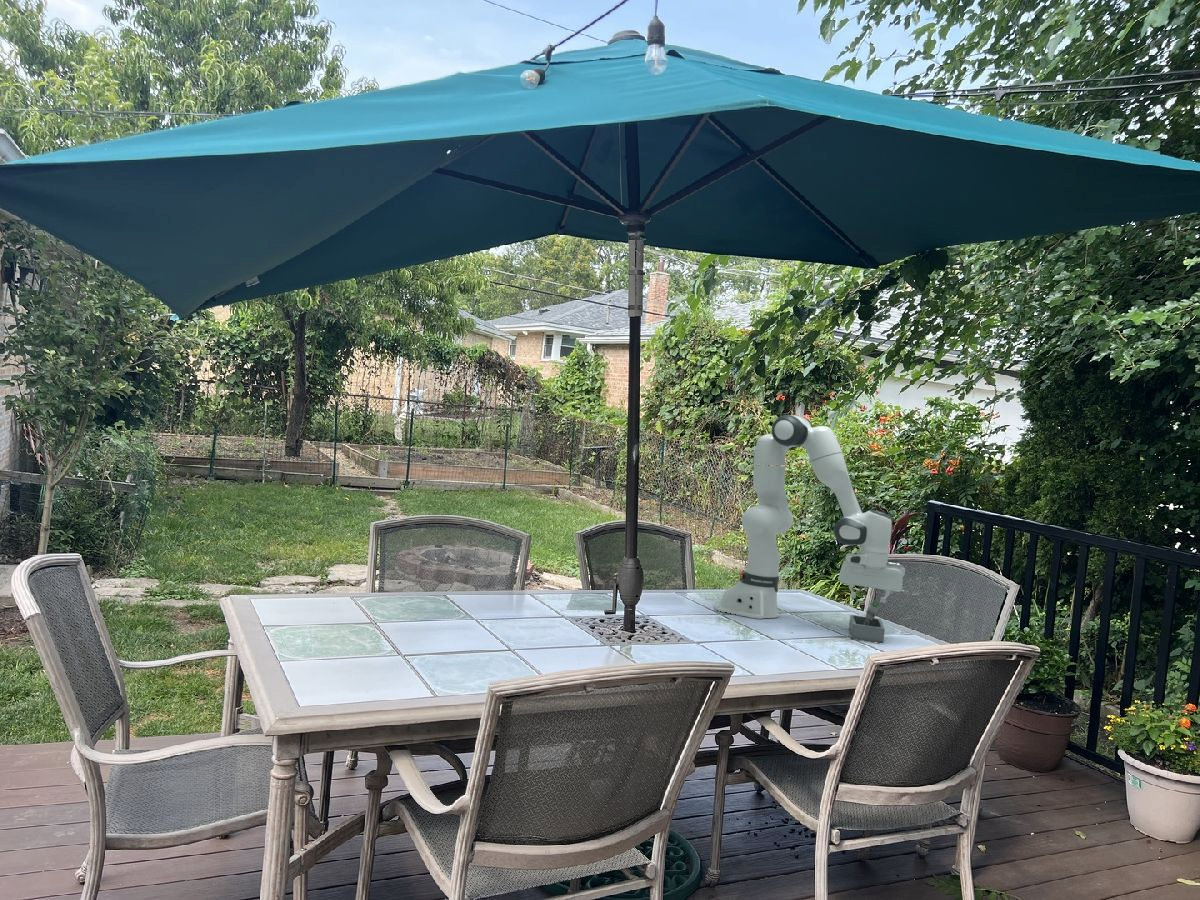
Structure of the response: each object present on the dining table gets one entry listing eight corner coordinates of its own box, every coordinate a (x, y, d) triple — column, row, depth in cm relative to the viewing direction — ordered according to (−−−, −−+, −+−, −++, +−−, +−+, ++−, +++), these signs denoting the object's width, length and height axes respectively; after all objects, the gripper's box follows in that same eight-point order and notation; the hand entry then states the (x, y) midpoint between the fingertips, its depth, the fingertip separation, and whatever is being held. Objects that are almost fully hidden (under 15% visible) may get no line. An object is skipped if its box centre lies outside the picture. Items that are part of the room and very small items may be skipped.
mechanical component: (859, 625, 279) (872, 599, 282) (857, 632, 288) (869, 607, 291) (868, 630, 278) (880, 603, 281) (865, 637, 287) (877, 611, 290)
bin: (851, 639, 276) (852, 624, 276) (848, 629, 291) (850, 614, 291) (883, 644, 274) (884, 628, 274) (879, 633, 289) (880, 619, 288)
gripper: (905, 563, 282) (899, 603, 283) (841, 553, 287) (836, 593, 288) (907, 566, 276) (901, 607, 277) (842, 556, 281) (836, 597, 282)
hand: (867, 600), depth 282 cm, fingers open, 8 cm apart
